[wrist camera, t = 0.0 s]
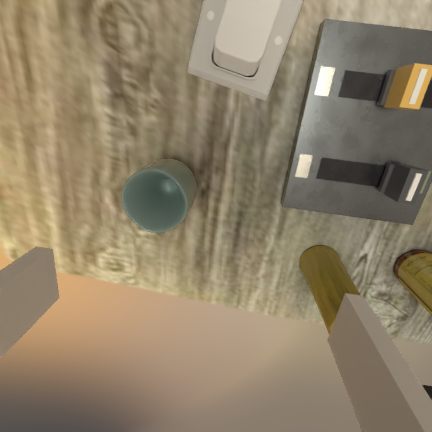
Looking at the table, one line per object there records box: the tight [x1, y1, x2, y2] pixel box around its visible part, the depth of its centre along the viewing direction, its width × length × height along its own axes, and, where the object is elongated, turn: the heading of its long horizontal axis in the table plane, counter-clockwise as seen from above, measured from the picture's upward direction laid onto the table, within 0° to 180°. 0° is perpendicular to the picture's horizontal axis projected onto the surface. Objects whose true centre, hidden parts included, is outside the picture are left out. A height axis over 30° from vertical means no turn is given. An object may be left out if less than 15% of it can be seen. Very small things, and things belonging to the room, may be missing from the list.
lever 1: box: [377, 63, 432, 110], centre depth 28 cm, size 4×3×4 cm
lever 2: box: [378, 163, 429, 205], centre depth 32 cm, size 4×3×4 cm
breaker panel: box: [281, 19, 432, 225], centre depth 33 cm, size 22×18×2 cm
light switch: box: [187, 0, 304, 100], centre depth 31 cm, size 11×4×13 cm
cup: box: [121, 158, 197, 233], centre depth 35 cm, size 8×8×10 cm
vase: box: [300, 246, 360, 335], centre depth 36 cm, size 6×6×14 cm
